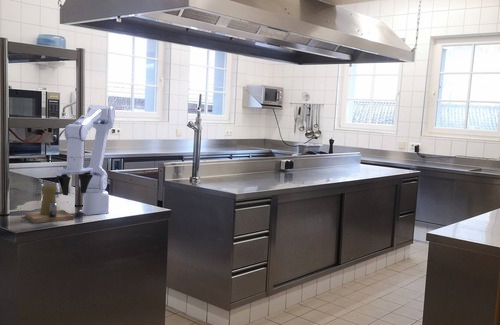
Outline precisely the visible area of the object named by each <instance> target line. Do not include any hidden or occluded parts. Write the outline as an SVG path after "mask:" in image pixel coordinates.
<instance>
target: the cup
mask: <svg viewBox="0 0 500 325" xmlns="http://www.w3.org/2000/svg"><path fill="white" fill-rule="evenodd" d="M61 169H62V168H58V170H61ZM72 173H74V172H72ZM67 176H68V177H71V179H70V182H69V192H68V194H70V193H71V187H72V180H73V179H72V178H73V175H67ZM58 187H59V189H58V190H59V193H60V194H63V192H62V188H61V185H60V183H59V182H58Z"/></svg>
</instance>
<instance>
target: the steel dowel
mask: <svg viewBox="0 0 500 325" xmlns="http://www.w3.org/2000/svg"><path fill="white" fill-rule="evenodd" d="M57 204H58V202H56V203H50V215H49V217H56V215H57V210H58V205H57Z"/></svg>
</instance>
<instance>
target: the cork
mask: <svg viewBox="0 0 500 325" xmlns="http://www.w3.org/2000/svg"><path fill="white" fill-rule="evenodd" d="M41 193H42V198H41V206H40V210H39V212H40V214H41V215H50V203H57V201H56V199H57V198H56V193H57V187H56V185H54V184H44V185H42V187H41Z"/></svg>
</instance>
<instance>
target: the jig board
mask: <svg viewBox="0 0 500 325" xmlns="http://www.w3.org/2000/svg"><path fill="white" fill-rule="evenodd" d="M24 217H25V218H27V219H28V220H29V221H30V222H31V223H33V224H39V223H50V222H61V221H72V220H74V215H73V214H71V213H70V212H67V211H66V210H64V209H57V215H56V217H49V215H41V214H40V211H29V212H27V211H26V212H25V213H24Z"/></svg>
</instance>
